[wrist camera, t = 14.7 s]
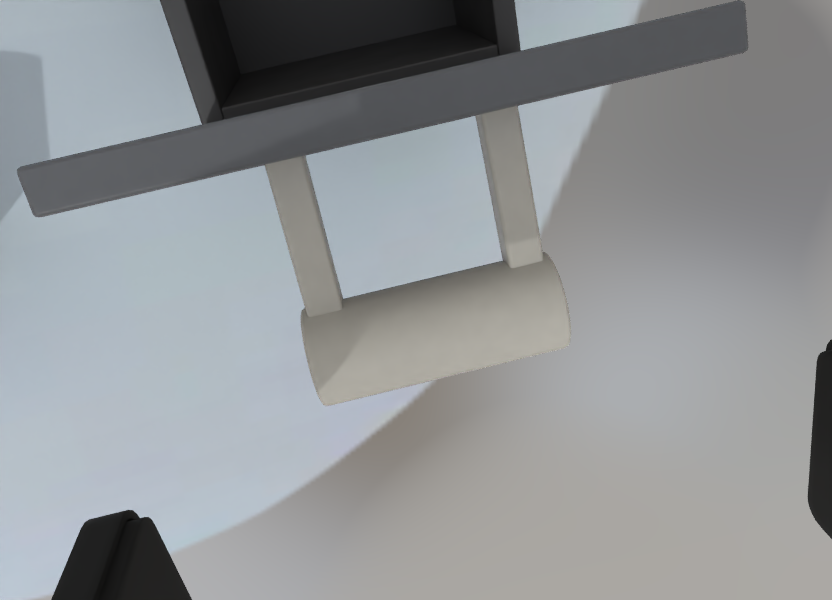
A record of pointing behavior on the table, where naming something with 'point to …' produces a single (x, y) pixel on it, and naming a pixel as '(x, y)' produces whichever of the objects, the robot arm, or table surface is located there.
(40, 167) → the brewer lid
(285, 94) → the dark grey storage bin
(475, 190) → the table surface
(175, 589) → the robot arm
